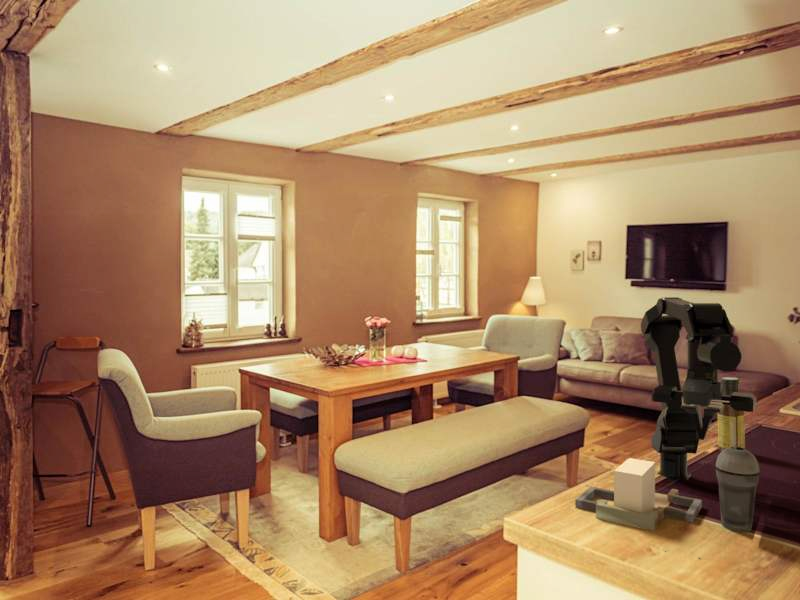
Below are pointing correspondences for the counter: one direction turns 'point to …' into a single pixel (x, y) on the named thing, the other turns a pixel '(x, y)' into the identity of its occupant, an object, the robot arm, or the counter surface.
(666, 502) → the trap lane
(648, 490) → the cream block
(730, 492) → the beverage cup
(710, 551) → the counter surface
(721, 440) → the sauce bottle
